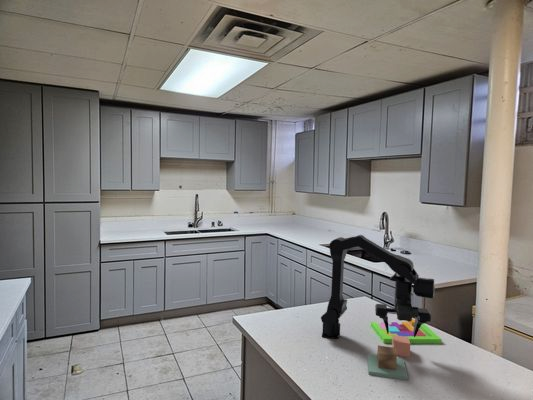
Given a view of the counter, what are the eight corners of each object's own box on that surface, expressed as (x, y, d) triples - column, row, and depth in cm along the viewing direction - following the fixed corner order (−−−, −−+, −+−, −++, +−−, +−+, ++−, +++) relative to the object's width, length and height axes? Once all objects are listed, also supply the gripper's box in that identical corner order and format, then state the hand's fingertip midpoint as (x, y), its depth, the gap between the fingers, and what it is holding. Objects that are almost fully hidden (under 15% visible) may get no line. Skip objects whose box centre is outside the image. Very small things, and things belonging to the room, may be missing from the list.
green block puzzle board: (441, 344, 140) (412, 319, 165) (441, 339, 140) (413, 314, 165) (383, 344, 139) (364, 318, 164) (384, 338, 139) (364, 313, 164)
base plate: (368, 374, 117) (368, 371, 117) (367, 356, 128) (367, 353, 128) (407, 380, 114) (407, 377, 114) (402, 361, 125) (403, 358, 125)
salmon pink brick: (393, 354, 130) (393, 341, 130) (391, 347, 136) (392, 334, 135) (409, 357, 129) (410, 343, 129) (407, 349, 134) (408, 336, 134)
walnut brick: (378, 367, 119) (378, 353, 119) (377, 359, 124) (377, 345, 124) (396, 370, 118) (396, 355, 117) (394, 361, 123) (394, 347, 123)
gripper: (377, 298, 125) (375, 341, 126) (435, 303, 121) (432, 348, 122) (375, 288, 136) (374, 328, 137) (429, 293, 132) (426, 334, 133)
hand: (400, 335), depth 132 cm, fingers open, 9 cm apart
